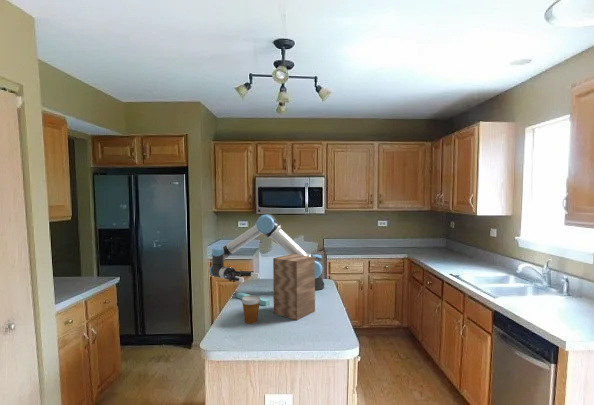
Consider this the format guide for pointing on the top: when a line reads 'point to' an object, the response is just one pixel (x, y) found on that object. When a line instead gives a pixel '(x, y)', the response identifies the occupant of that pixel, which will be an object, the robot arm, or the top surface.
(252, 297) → the disposable coffee cup
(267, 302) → the bar
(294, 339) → the top surface
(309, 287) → the stand
